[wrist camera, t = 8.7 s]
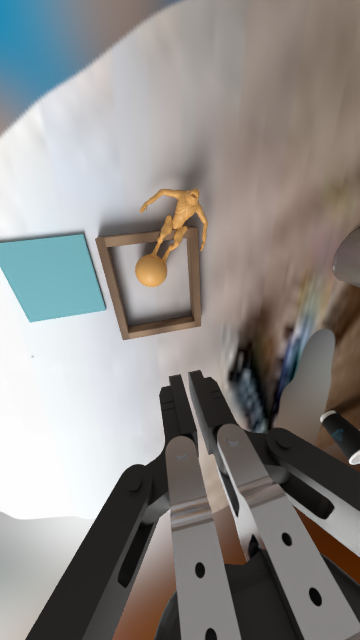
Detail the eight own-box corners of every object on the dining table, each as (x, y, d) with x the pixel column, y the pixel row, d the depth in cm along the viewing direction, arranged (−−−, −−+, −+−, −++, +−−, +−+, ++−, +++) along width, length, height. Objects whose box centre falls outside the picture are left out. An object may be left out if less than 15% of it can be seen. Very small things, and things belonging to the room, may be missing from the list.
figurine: (110, 275, 23) (158, 168, 16) (121, 251, 28) (163, 157, 20) (170, 305, 26) (234, 226, 19) (172, 279, 31) (225, 207, 23)
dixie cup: (316, 413, 55) (352, 454, 46) (341, 403, 55) (383, 441, 46) (314, 428, 59) (348, 468, 50) (338, 418, 59) (376, 457, 50)
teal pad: (83, 233, 24) (82, 234, 23) (105, 309, 29) (105, 310, 28) (-10, 243, 22) (-12, 244, 22) (31, 320, 27) (29, 322, 27)
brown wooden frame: (193, 226, 26) (197, 227, 24) (197, 320, 33) (201, 326, 31) (97, 237, 24) (95, 239, 22) (123, 333, 31) (122, 340, 29)
